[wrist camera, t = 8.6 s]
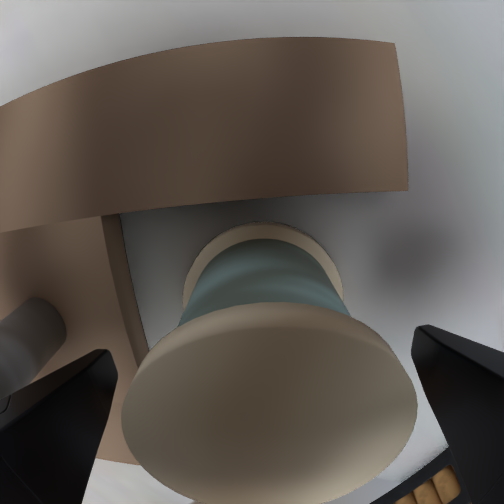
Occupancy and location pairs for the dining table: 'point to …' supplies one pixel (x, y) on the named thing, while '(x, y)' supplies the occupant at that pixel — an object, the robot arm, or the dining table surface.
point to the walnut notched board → (170, 176)
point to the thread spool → (267, 380)
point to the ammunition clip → (431, 485)
